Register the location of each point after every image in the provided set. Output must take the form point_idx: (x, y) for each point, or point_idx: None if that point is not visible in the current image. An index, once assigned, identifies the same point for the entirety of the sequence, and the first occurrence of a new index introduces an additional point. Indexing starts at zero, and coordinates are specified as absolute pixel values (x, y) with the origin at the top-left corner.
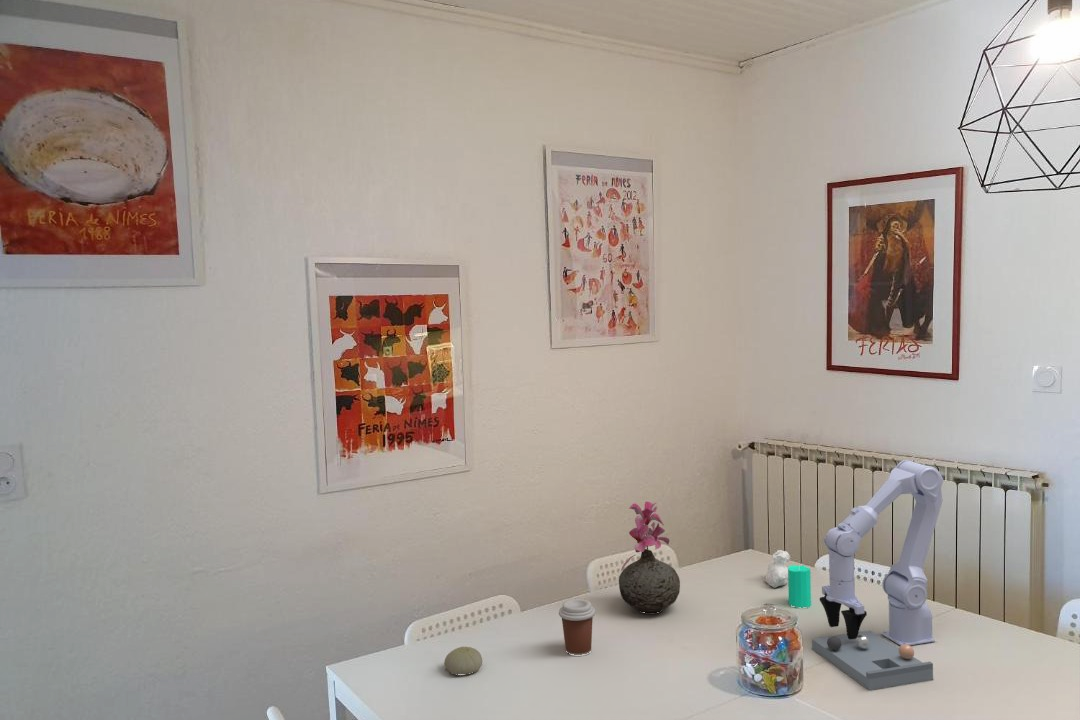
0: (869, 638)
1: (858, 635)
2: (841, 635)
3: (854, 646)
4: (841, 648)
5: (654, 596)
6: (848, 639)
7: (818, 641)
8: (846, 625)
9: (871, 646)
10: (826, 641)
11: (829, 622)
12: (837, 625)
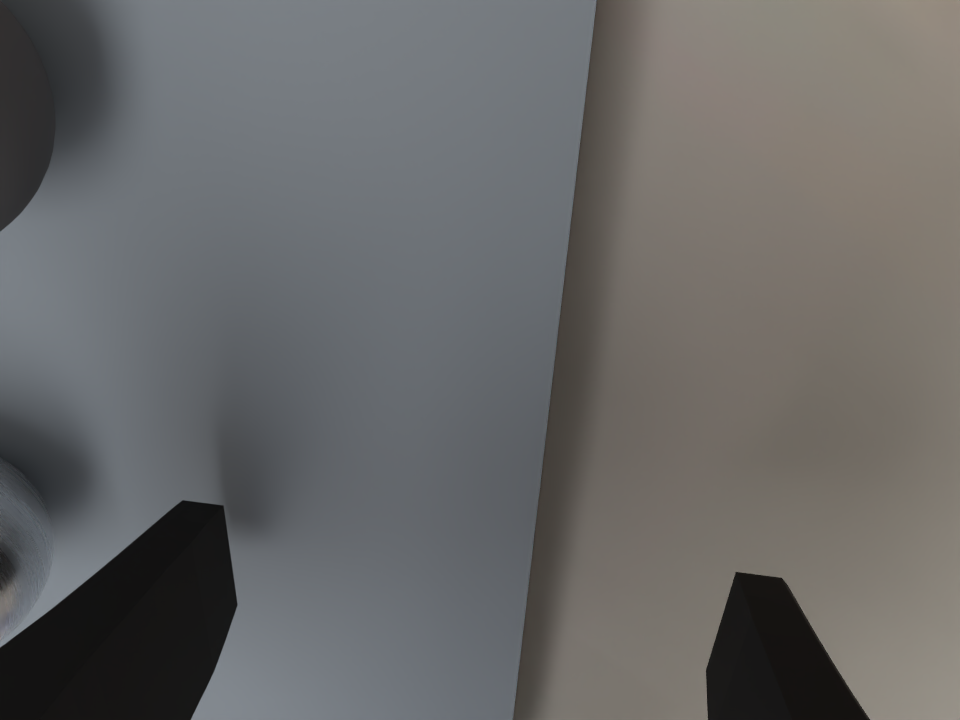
0: (286, 716)
1: (412, 686)
2: (499, 534)
3: (78, 440)
4: (29, 226)
5: None
6: (334, 523)
7: (422, 22)
8: (43, 680)
9: (53, 600)
10: (368, 178)
11: (767, 629)
12: (711, 673)
